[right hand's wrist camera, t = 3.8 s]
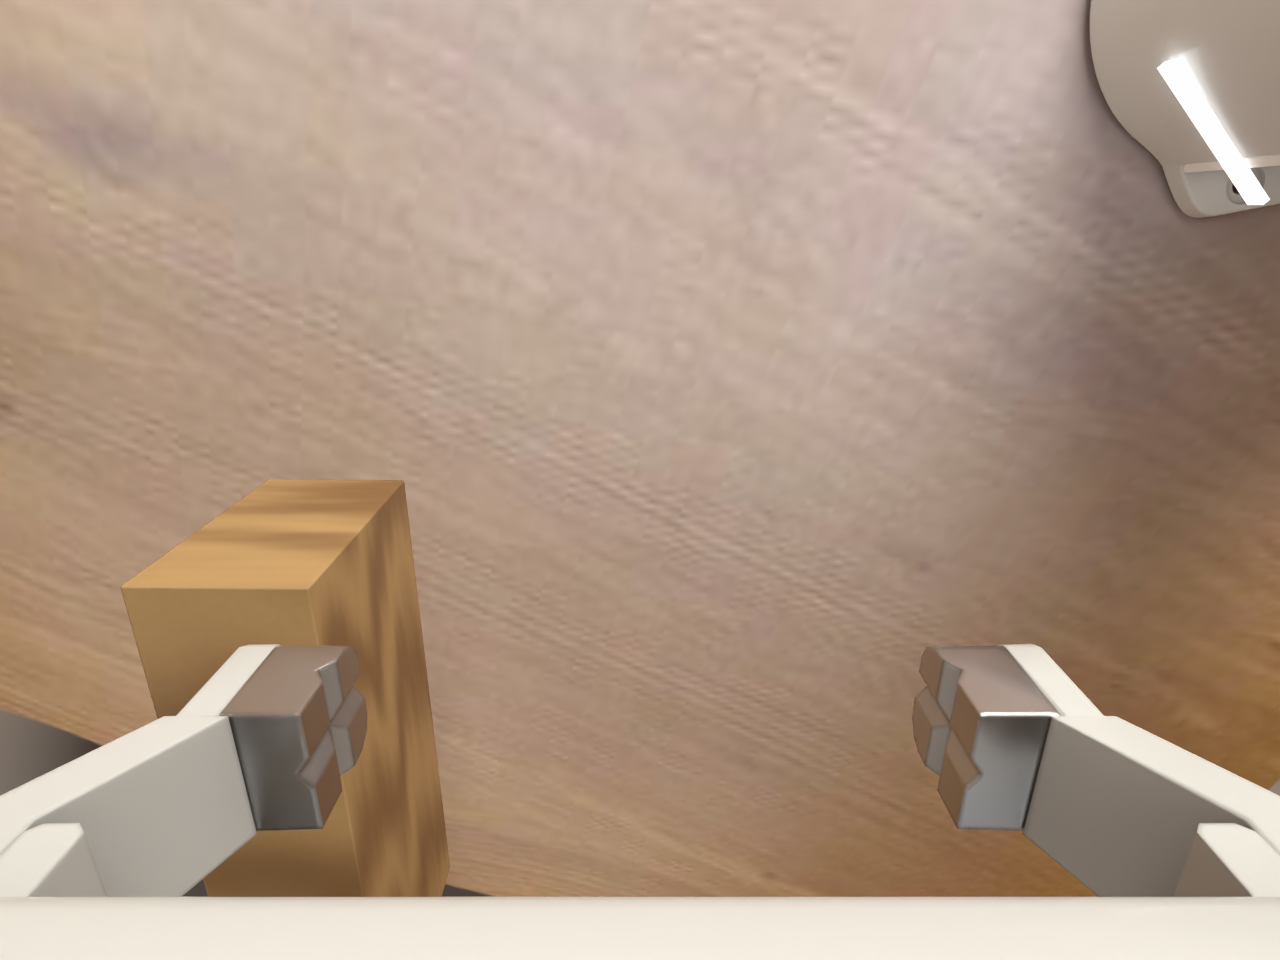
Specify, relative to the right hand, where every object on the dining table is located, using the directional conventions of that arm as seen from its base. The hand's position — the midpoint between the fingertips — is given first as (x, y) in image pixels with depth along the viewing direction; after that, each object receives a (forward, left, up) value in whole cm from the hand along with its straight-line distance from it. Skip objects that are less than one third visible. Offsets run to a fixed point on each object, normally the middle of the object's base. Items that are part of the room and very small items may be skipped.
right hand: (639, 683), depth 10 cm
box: (+13, +16, -21) cm, 29 cm away
